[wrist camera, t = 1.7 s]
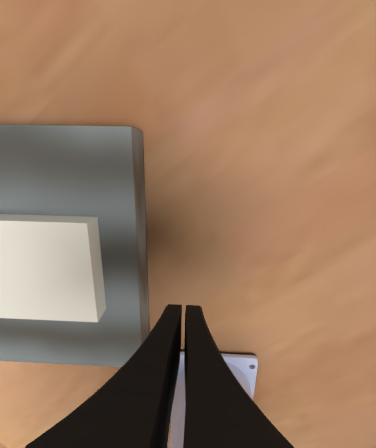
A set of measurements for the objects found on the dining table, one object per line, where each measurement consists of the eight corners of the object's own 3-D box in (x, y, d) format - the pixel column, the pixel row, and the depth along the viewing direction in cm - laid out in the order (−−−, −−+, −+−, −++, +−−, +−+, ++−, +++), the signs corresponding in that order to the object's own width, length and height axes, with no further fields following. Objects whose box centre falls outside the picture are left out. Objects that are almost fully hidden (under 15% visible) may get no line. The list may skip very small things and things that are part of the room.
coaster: (106, 308, 17) (97, 322, 16) (14, 304, 17) (-3, 317, 16) (97, 216, 15) (86, 223, 14) (-7, 213, 15) (-28, 219, 14)
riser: (149, 339, 21) (142, 368, 18) (23, 333, 22) (-3, 360, 19) (142, 131, 16) (131, 126, 13) (-22, 128, 17) (-68, 123, 14)
